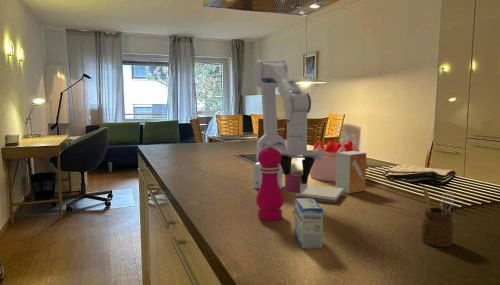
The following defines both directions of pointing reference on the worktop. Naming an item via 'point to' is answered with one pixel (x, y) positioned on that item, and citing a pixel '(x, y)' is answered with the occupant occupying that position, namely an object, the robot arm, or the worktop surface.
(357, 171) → the small box
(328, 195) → the plate
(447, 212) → the utensil holder
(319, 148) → the cake
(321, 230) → the medicine box
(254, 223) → the worktop surface
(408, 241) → the worktop surface
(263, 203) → the pepper mill
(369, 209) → the worktop surface
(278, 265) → the worktop surface
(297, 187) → the housing
